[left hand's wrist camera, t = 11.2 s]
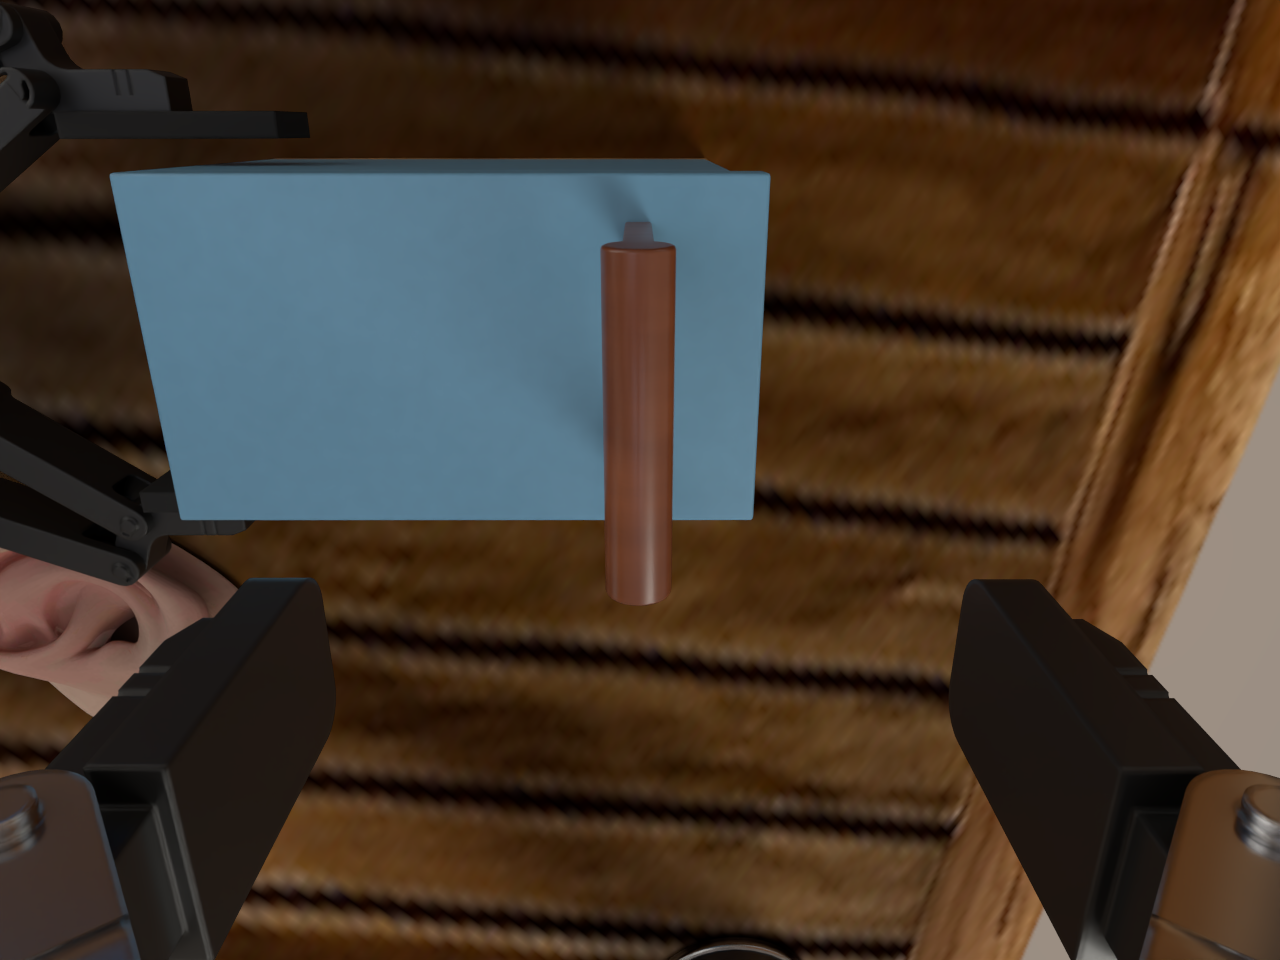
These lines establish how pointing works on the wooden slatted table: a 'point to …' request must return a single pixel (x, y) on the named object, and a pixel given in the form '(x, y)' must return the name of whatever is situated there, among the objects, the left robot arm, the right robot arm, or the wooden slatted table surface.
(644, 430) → the lid
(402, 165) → the chest
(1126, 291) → the wooden slatted table surface
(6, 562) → the anatomical model
